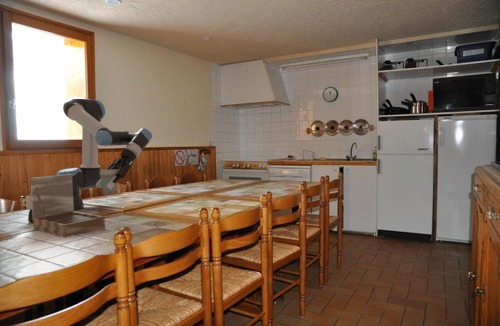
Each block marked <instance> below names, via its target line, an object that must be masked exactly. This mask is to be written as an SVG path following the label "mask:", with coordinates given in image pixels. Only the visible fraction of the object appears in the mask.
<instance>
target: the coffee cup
mask: <svg viewBox="0 0 500 326" xmlns="http://www.w3.org/2000/svg"><path fill="white" fill-rule="evenodd" d="M117 172H118V169H117V170H114V169H112V170H106V169H102V170H101V171H100V174H99V175H100V177H101V183H102V187H101V188H102V194H103V196H113V195H116V194H117V190H118V189H117V187H118V182H117V183H116V184H115V185H114V186H113V188H112V189H111V190H110V189H109V188H108V187H107V184H108V183H109V182H110V181H111V179H112V178H113V177H114V176H116V175H115V174H117Z"/></svg>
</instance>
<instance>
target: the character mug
mask: <svg viewBox="0 0 500 326" xmlns="http://www.w3.org/2000/svg"><path fill="white" fill-rule="evenodd" d="M22 206H23V207H26V209H27V210H29V212H28V216H27V222H30V223H33V216H32V198H31V194H29V195H26V196H25V198H24V199H22Z"/></svg>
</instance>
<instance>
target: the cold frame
mask: <svg viewBox="0 0 500 326" xmlns="http://www.w3.org/2000/svg"><path fill="white" fill-rule="evenodd" d="M29 180H30V193H31V194H30V195H31V198H32V216H33V222H32V229H33V230H34V229H35V231H39V232H42V233H45V234H49V233H50V235H53V234H54V236H57V235H58V237H61V236H62V237H61V238H69V237H72V235H73V236H76V235H82V234H84V233H85V234H86V233H89V232H93V231H97V230H101V229H105V228H106V221H105V219H106V218H105V216H104V215H97V214H92V213H87V212H82V211H81V212H80V211H77V210H74V205H73V184H72V174H69V175H58V176H56V175H49V176H48V175H47V176H39V177H38V176H37V177H30V179H29ZM68 236H69V237H68Z"/></svg>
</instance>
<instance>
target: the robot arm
mask: <svg viewBox="0 0 500 326" xmlns="http://www.w3.org/2000/svg"><path fill="white" fill-rule="evenodd" d="M62 110H63V113H64V115H65V116H66V117H67V118H68V119H69V120H71V121H74V122H76V123H77V124H79V125H80V126H81V127H82V128H81V129H82V131H81V133H82V135H81V137H82V139H81V140H82V142H81V143H82V145H81V150H82V157H81V160H82V163H81V165H79V168H78V167H71V168H64V169H60V170H59V171H57V172H56V175H55V176H58V175H69V174H72V184H73V205H74V211H79V210H82V209H84V208H85V203H84V201H83V199H82V197H81V190H85V189H95V188H98V189H101V188H102V183H101V177H100V175H99V174H100V171H101V170H103V169H102V168H101V165H100V164H99V146H101V147H110V146H111V147H112V146H115V147H116V146H121V147H122V146H126V147H125V148H124V149H122V151H121V152H120V154H119V156H120V158H119V159H114V160H113V161H112V163H110V165H108V166H107V167H106V168H105V170H112V169H114V170H117V174H115V175H116V176H114V177H113V178H112V179H111V181H110V182H109V183H108V184H107V187H108V188H109V189H110V190H111V189H112V188H113V186H114V185H115V184H116V183H117V184H118V181H119V180H120V179H125V176H127V174H128V172H129V170H130V169H131V167H132V165H134V162H135V160H136V159H137V158H138V157H139V155H140V154H141V153H142V152H143V150H144V149H145V148H146V147H147V146H148V144H149V143H150V142H151V140H152V138H153V134H152V132H151V131H150V130H148V129H147V128H144V127H142V128H140V129H139V130H138V131H127V130H123V131H119V130H118V131H117V130H116V131H115V130H110V129H109V128H108V127H106V126H105V125H104V124H103V123H101V122H102V119H104V118H105V115H106V108H105V105H104V104H103V102H102V101H101V100H99V99H94V98H86V97H85V98H84V97H76V96H73V97H71V98H68V99H66V100H65V102H64V103H63V107H62Z"/></svg>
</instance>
